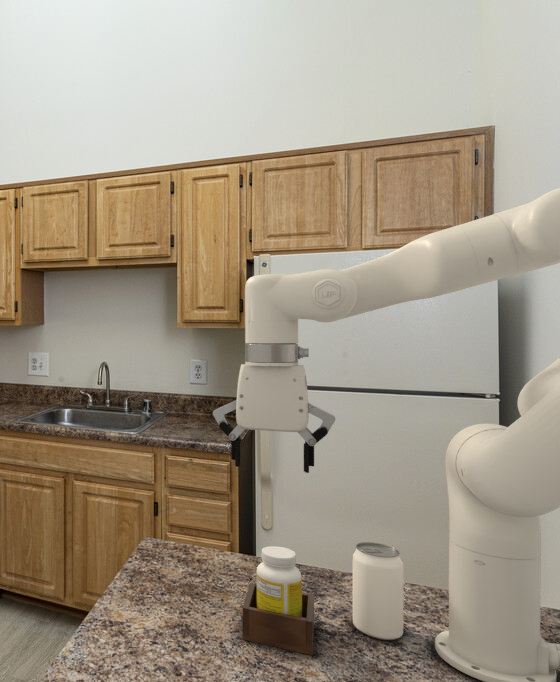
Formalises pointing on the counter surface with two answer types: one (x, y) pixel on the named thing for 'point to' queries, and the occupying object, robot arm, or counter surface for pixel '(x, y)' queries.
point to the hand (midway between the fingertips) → (271, 467)
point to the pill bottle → (279, 582)
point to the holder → (279, 624)
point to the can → (378, 591)
